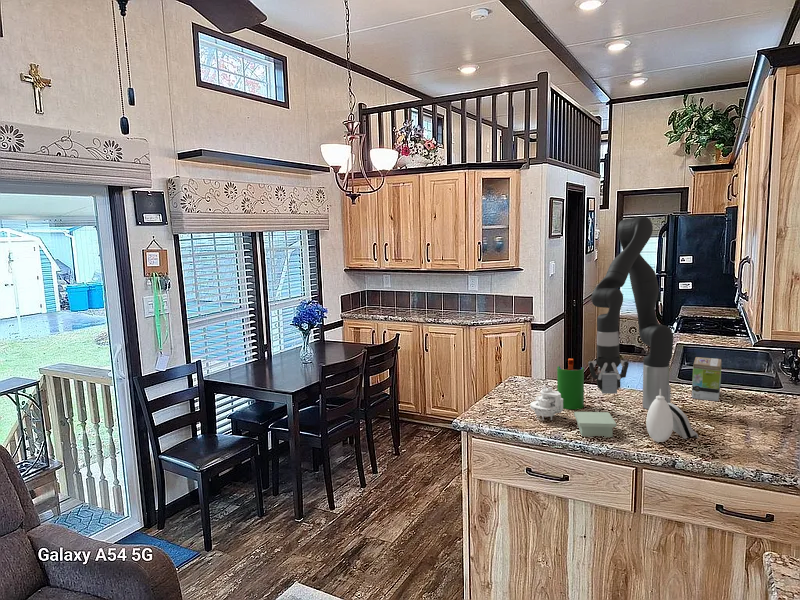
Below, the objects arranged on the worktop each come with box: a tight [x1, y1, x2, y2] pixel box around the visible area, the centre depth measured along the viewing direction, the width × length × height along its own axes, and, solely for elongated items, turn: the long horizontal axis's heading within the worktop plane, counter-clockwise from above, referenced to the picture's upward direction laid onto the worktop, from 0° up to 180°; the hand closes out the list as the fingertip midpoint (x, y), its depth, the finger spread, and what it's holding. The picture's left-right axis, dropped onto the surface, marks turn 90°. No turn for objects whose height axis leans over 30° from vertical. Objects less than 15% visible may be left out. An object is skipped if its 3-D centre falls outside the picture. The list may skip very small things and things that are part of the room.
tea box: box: [691, 356, 722, 402], centre depth 223 cm, size 15×10×15 cm, turn 148°
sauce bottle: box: [645, 389, 673, 443], centre depth 175 cm, size 8×8×18 cm
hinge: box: [668, 402, 699, 439], centre depth 186 cm, size 17×5×10 cm, turn 177°
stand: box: [573, 411, 617, 438], centre depth 187 cm, size 12×12×5 cm
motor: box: [556, 358, 585, 410], centre depth 214 cm, size 10×9×20 cm
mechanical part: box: [529, 385, 564, 421], centre depth 202 cm, size 11×12×12 cm
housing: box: [597, 366, 618, 395], centre depth 196 cm, size 5×9×8 cm, turn 169°
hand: (608, 388), depth 194 cm, fingers closed on housing, 5 cm apart
